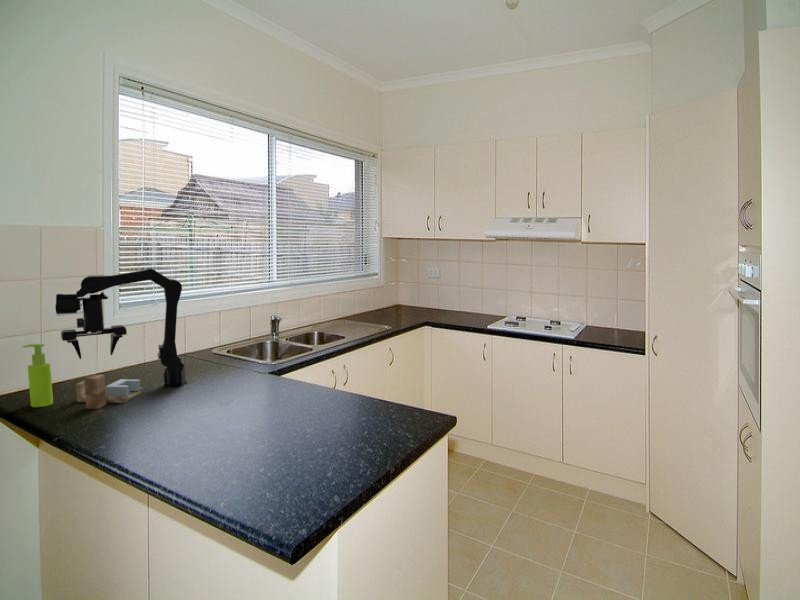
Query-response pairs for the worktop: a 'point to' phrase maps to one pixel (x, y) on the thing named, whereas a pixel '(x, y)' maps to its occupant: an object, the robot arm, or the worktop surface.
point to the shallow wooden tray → (81, 396)
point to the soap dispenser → (39, 379)
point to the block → (122, 387)
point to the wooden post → (95, 391)
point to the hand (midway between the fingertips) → (96, 356)
